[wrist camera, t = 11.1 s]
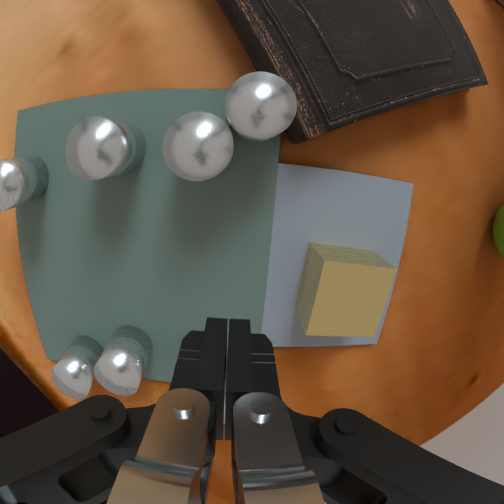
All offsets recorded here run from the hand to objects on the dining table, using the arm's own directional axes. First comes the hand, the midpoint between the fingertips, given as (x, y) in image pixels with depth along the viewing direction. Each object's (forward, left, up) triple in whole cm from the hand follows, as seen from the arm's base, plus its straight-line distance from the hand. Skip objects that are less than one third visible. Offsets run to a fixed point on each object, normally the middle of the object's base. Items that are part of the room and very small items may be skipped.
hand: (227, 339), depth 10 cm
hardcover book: (-4, -21, -8) cm, 23 cm away
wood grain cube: (-7, +1, -8) cm, 10 cm away
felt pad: (-7, 0, -8) cm, 10 cm away
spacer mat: (+7, 0, -8) cm, 10 cm away
